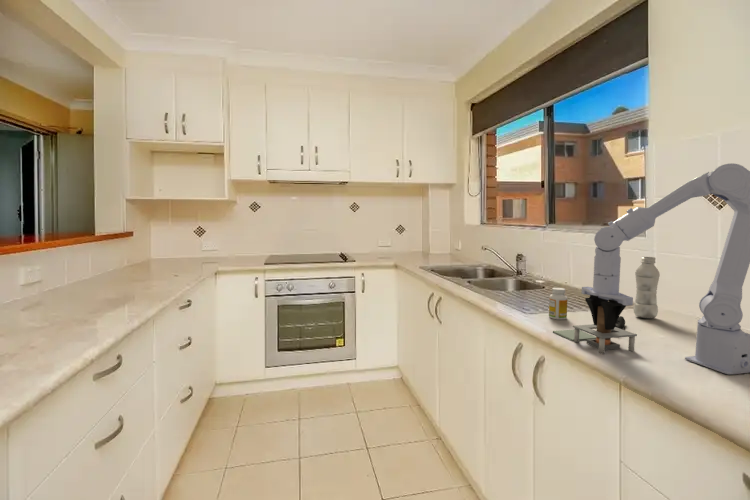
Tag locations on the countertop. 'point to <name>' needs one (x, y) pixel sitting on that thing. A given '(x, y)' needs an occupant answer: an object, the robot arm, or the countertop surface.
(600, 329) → the dowel
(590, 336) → the coaster
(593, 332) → the guard
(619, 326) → the electric trimmer
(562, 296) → the supplement bottle
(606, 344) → the plunger
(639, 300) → the plastic bottle
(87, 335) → the countertop surface
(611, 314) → the robot arm
